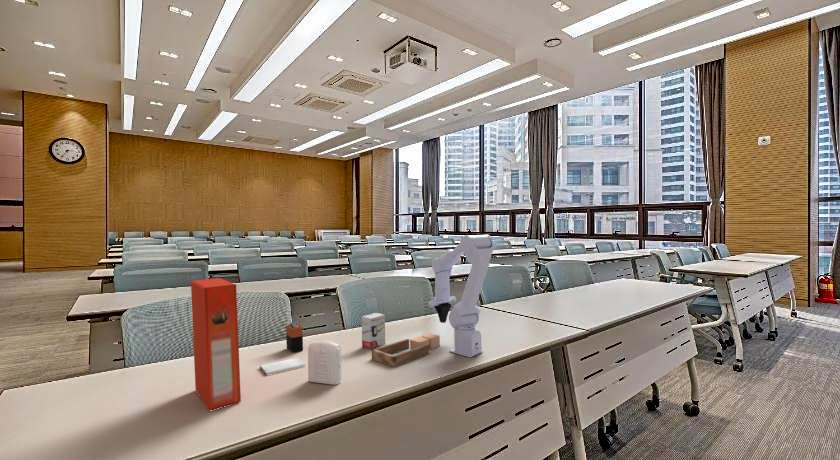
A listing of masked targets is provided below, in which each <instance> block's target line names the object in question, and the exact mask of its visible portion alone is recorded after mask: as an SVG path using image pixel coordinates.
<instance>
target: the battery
mask: <svg viewBox="0 0 840 460" xmlns="http://www.w3.org/2000/svg"><path fill="white" fill-rule="evenodd" d="M303 331H304V330H303V326H301V325H300V324H299V323H297V322H295V321H291V322H290V323H289V324H286V325H285V332H286V333H285V334H286V336H285V337H286V338H285V339H286V340H285V341H286V349H287V350H288V351H289V352H291V353H293V352H294V353H297V352H298V351H299V352H302V351H303V350H304V339H303V337H304V336H303V335H304V334H303Z"/></svg>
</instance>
